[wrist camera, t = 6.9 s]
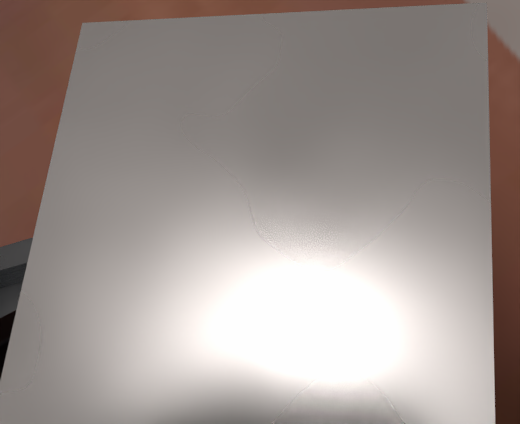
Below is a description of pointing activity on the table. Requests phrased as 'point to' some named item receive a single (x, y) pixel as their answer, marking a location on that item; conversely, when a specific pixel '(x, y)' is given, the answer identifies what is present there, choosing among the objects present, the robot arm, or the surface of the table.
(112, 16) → the table surface
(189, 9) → the table surface
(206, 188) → the billet
